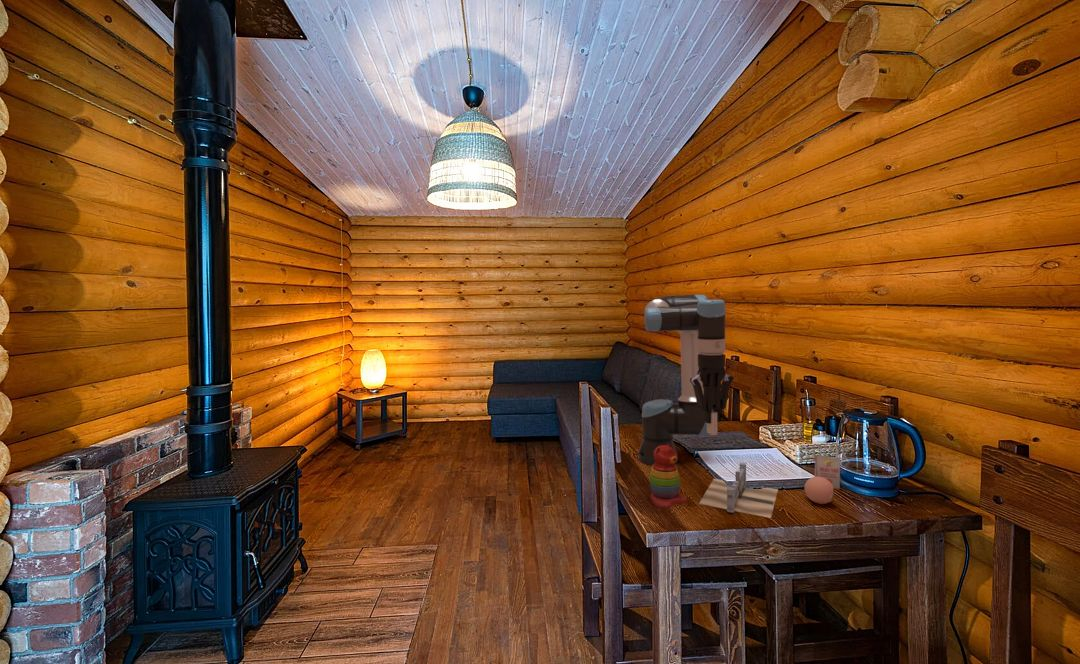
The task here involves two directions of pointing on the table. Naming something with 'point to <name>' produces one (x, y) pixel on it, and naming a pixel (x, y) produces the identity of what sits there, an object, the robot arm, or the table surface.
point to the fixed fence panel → (741, 477)
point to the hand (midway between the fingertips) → (712, 433)
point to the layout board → (741, 499)
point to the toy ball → (819, 490)
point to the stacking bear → (665, 478)
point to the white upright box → (828, 469)
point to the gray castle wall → (732, 496)
